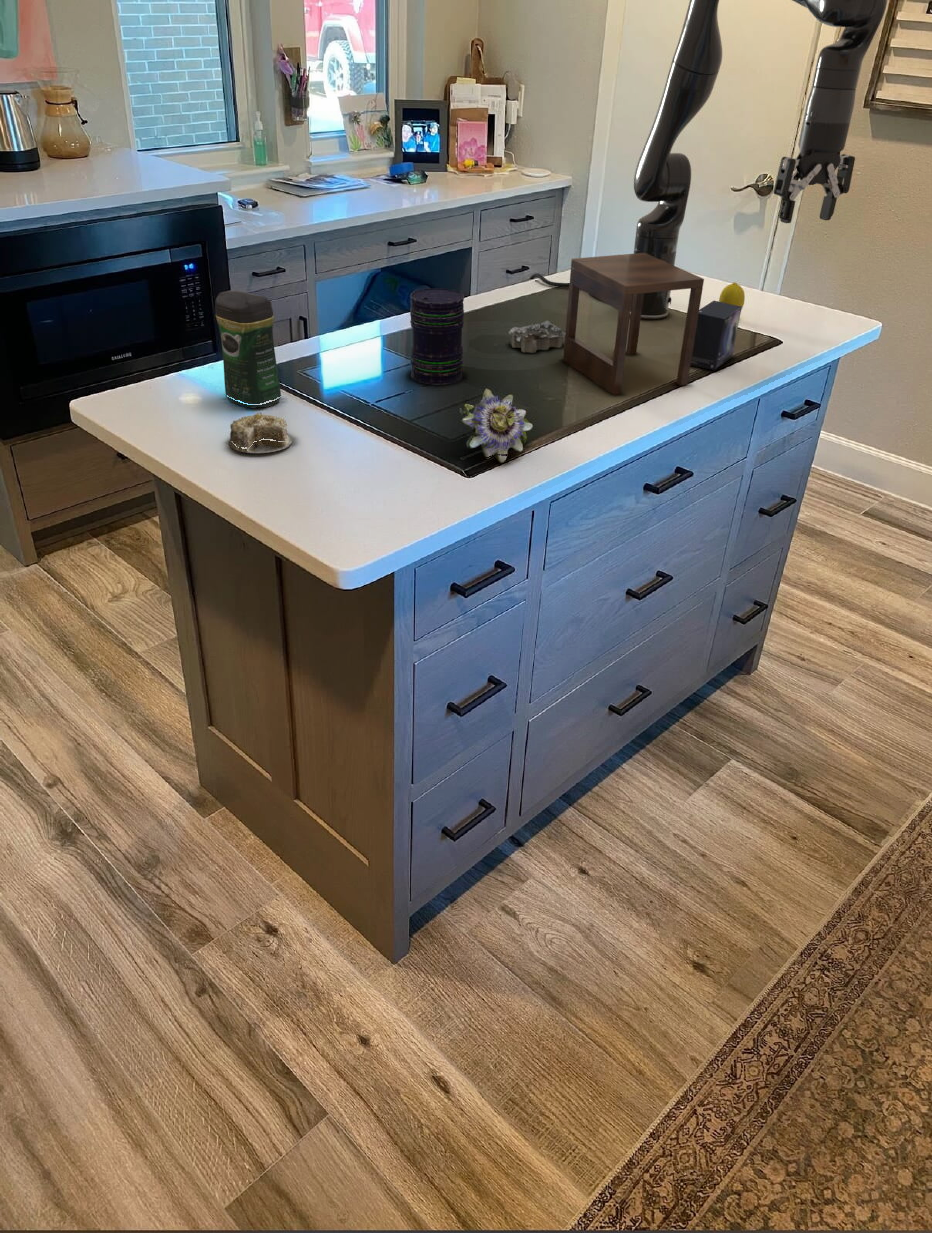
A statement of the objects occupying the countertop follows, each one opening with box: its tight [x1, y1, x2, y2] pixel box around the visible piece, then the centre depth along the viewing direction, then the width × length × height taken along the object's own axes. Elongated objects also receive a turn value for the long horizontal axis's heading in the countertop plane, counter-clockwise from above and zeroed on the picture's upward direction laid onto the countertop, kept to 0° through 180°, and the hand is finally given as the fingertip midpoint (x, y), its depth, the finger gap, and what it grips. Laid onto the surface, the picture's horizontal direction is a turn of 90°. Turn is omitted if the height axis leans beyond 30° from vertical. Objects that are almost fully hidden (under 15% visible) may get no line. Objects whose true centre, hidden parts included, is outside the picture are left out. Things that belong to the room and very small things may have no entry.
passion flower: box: [458, 388, 534, 464], centre depth 149 cm, size 11×11×12 cm
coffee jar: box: [214, 288, 282, 409], centre depth 162 cm, size 10×8×19 cm
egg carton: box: [508, 320, 566, 354], centre depth 194 cm, size 11×8×4 cm
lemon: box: [718, 282, 746, 311], centre depth 212 cm, size 6×6×8 cm
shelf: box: [562, 253, 705, 396], centre depth 178 cm, size 20×16×20 cm
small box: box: [690, 300, 743, 371], centre depth 187 cm, size 11×6×10 cm, turn 148°
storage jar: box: [409, 287, 465, 386], centre depth 175 cm, size 10×10×15 cm
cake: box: [228, 412, 293, 454], centre depth 150 cm, size 10×10×5 cm
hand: (804, 221), depth 167 cm, fingers open, 8 cm apart
